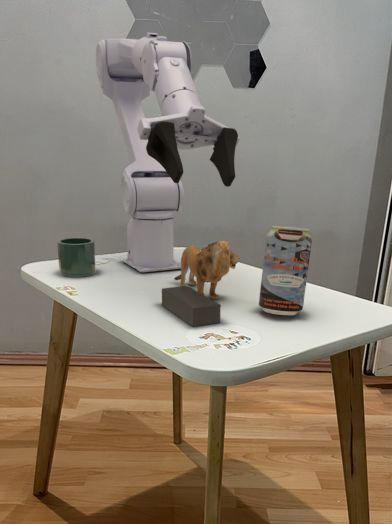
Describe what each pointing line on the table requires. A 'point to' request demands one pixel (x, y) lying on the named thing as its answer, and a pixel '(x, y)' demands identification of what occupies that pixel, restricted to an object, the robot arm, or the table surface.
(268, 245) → the beverage can
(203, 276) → the lion figurine
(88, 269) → the cup
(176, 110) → the robot arm
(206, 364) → the table surface
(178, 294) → the black bar
